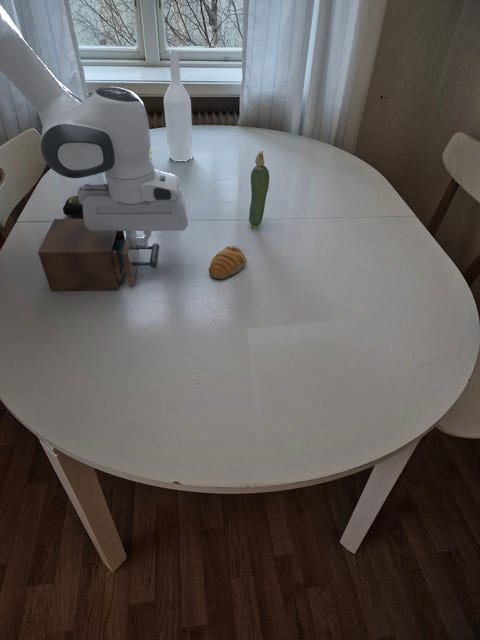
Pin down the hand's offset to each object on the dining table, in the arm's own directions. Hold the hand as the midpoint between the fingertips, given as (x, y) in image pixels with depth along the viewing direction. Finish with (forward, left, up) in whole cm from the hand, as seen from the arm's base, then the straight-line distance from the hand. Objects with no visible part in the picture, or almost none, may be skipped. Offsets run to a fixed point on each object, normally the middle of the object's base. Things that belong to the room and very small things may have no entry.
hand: (141, 246), depth 90 cm
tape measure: (-19, +25, -7) cm, 32 cm away
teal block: (-6, 0, -4) cm, 8 cm away
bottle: (+5, +62, -7) cm, 63 cm away
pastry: (+18, +1, -7) cm, 19 cm away
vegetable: (+26, +18, -7) cm, 33 cm away
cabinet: (-12, 0, -6) cm, 13 cm away
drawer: (-5, 0, -6) cm, 8 cm away
